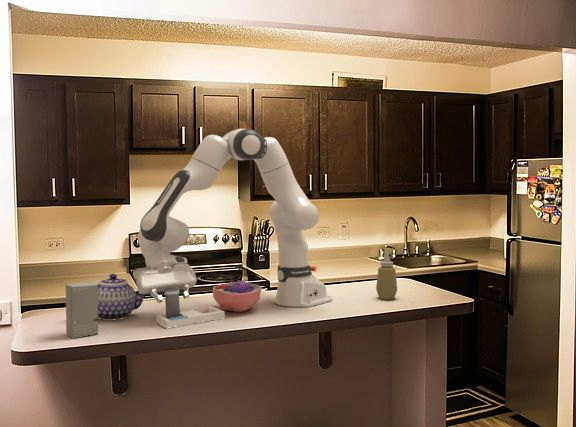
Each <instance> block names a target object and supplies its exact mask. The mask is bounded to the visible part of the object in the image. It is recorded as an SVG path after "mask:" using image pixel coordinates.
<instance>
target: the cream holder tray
mask: <svg viewBox="0 0 576 427" xmlns="http://www.w3.org/2000/svg"><path fill="white" fill-rule="evenodd" d="M225 317H226V316H225V311H224V310H221V309H219V308H217V307H215V306H209V307H208V312H206V313H202V312H199V311H197V310H195V309H189V310H184V311H183V310H182V311H180V317H174V318H169V319H167V318H166V316H163V315H161V314H158V315H155V323H156V322H157V323H159V324H161V325H163V326H165V327H166V328H168V327H174V326H180V327H182V326H181V325H186V326H188V325H187V324H192V325H194V324H193V323H197V324H199V323H198V322H203V321H209V322H211V321H210V320H214V321H218V320H217V319H220V320H223V319H222V318H225ZM157 323H156V324H157ZM203 323H204V322H203ZM159 324H158V325H159ZM161 325H160V326H161ZM166 328H165V329H166Z"/></svg>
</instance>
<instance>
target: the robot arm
mask: <svg viewBox="0 0 576 427" xmlns="http://www.w3.org/2000/svg"><path fill="white" fill-rule="evenodd" d="M230 159H231V160H236V161H252V160H253V161H254V162H255V164H256V165H257V168H258V171H259V174H260V176H261V178H262V180H263V183H264V185H265V188H266V190H267V192H268V194H270V195H271V197H273V199H274V200H275V201H274V202H273V203H271V205H270V207H269V209H268V215H269V219H270V220H271V222H272V224H273V228H274V230H275V231H274V232H275V236H276V240H277V246H278V265H277V280H278V282H277V290H276V294H275V295H276V296H275V300H274V303H275V304H276V305H279V306H283V307H299V308H300V307H301V308H310V307H313V306H318V305H321V304H325V303H328V302H333V298H332V296H330V295H328V294H327V289H326V285H325V283H323V282H322V281H321V280H320V279H318V278H317V277H316V276H315V275H313V272H317V269H318V268H317V266H314V265H309V249H308V248H309V245H308V242H307V241H306V239H305V237H304V233H303V231H305V230H311V229H312V228H314V227H315V226H316V225H317V223H318V221H319V216H320V212H319V209H318V208H317V207H316V206H315V204H313V203H312V202H311V201H310V199H309V198H308V196H307V195H306V194H305V192H304V191H303V189H302V187H300V184H299V183H298V181H297V178H296V177H295V175H294V173H293V170H292V167H291V165H290V162H289V160H288V157H287V156H286V153H285V150H284V149H283V148H282V145H281V144H280V143H279V141H278V140H277V139H276V138H274V137H273V136H271V137H270V136H265V137H263V136H262V135H261V134H260V133H258V132H257V131H256V130H253V129H251V128H236V129H232V130H230V131H227V132H226V133H224V134H223V135H221V136H219V135H216V134H208V135H206V136H205V137H204V138H203V139H202V141H200V144H199V145H198V146H197V148H196V150H195V151H194V153H192V156H191V159H190V160H189V162H188V164H187V165H186V166H185V167H184V168H183V169H182V170H178V171H177V172H176V173H175V174H174V175H173V176H172V178H170V180H169V182H168V183H167V185H166V186H165V188H164V189H163V191H162V192H161V194H160V195H159V197H158V198H156V199H157V200H156V201H155V202H154V204H153V205H152V207H151V208H150V209H149V210H148V211H147V212H145V214H144V215H143V217H142V218H141V220H140V226H139V231H138V234H137V237H138V238H137V241H138V246H139V247H140V248H139V249H140V252H141V254H142V256H143V257H144V260H145V261H144V262H145V265H146V267H141V268H140V267H139V268H135V270H133V272H132V276H133V278H134V280H135V283H136V287H137V290H138V292H139V293H141V294H144V295H146V294H150V297H152V298H154V299H155V301H156V304H159V303H162V302H163V301H164V299H163V296H162V294H160V295H159V294H158V293H160V292H165V290H166V289H170V288H177V289H179V290H183V291H184V292H183V293H182V297H183V299H184V300H185V299H186V300H187V299H189V298H190V294H189V289H190V288H194V287H195V286H196V284H197V280H198V279H197V276H196V273H195V271H194V269H193V268H192V266H191V265H190V264H188V259H187V258H186V257H183V256H177V255H174V254H171V253H172V252H175V251H176V250H178V249H179V248H181V247H183V246H184V245H185V244H186V243H187V241H188V239H189V235H190V230H189V227H188V225H187V224H186V223H185V222H184V221H181V220H179V219H177V218H174V217H173V216H170V213H171V212H172V211H173V208H174V207H175V206H176V204H177V202H178V201H179V199H180V198H181V197H182V196H183V195H184V194H186V193H188V192H190V191H203V190H207V189H209V188H211V187H212V186H214V185H215V183H216V182H217V180H218V178H219V176H220V173H221V172H222V170H223V167H224V165H225V164H226V163H227V162H228V161H229V160H230Z"/></svg>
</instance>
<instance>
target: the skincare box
mask: <svg viewBox="0 0 576 427" xmlns="http://www.w3.org/2000/svg"><path fill="white" fill-rule="evenodd" d="M97 285H98V283H97V284H96V283H94V282H77V283H67V284H65V309H66V310H65V316H66V318H65V319H66V320H65V322H66V324H65V325H66V326H65V327H66V335H68V336H69V337H70V338H71V339H76V338H77V339H78V337H79V338H84V337H83V336H85V337H89V336H88V335H90V336H95V335H94V334H96V335H99V317H98V291H97Z"/></svg>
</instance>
